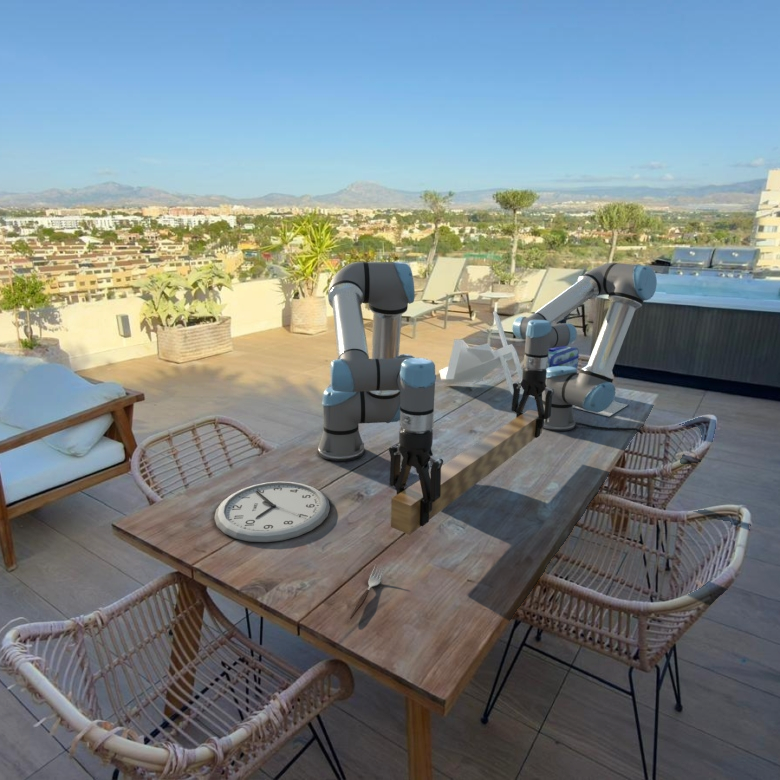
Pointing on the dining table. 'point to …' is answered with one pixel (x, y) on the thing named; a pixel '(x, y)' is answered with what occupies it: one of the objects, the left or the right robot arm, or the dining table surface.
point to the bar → (465, 471)
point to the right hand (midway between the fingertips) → (528, 434)
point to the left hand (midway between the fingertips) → (413, 518)
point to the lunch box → (563, 357)
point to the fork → (372, 582)
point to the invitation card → (608, 409)
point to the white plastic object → (480, 361)
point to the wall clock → (272, 511)
